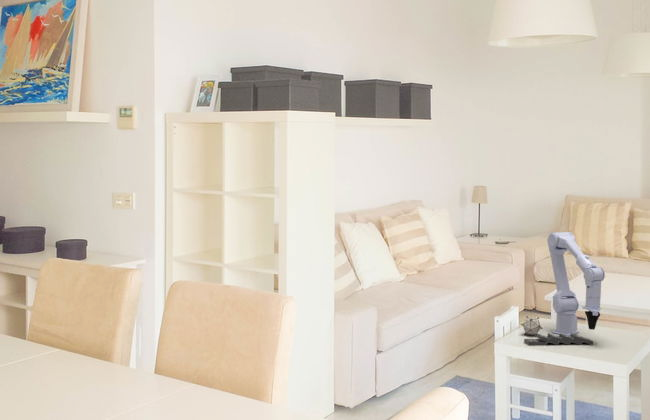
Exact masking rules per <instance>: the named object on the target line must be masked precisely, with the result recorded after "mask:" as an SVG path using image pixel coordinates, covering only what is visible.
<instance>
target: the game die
mask: <svg viewBox="0 0 650 420" xmlns="http://www.w3.org/2000/svg"><path fill="white" fill-rule="evenodd" d="M539 319H540V317H537V318H535V317H529V316H528V315H526V319H525V320H524V322H523V323H520V325H521V326H522V327H523V330H524V336H526V335H534V336H536V334H539V332H540V330H542V329H543V327H542V326H541V323H540V321H539Z"/></svg>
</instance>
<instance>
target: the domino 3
mask: <svg viewBox="0 0 650 420" xmlns="http://www.w3.org/2000/svg"><path fill="white" fill-rule="evenodd" d="M546 336H547V337H549V338H550V339H552V340H555V341H558V342H559V343H562V344H565V345H568V346H570V345H571V343H572V342H570V341H566V340H563V339H562V338H560V337H559V335H555V334H553V333H547V335H546Z"/></svg>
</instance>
